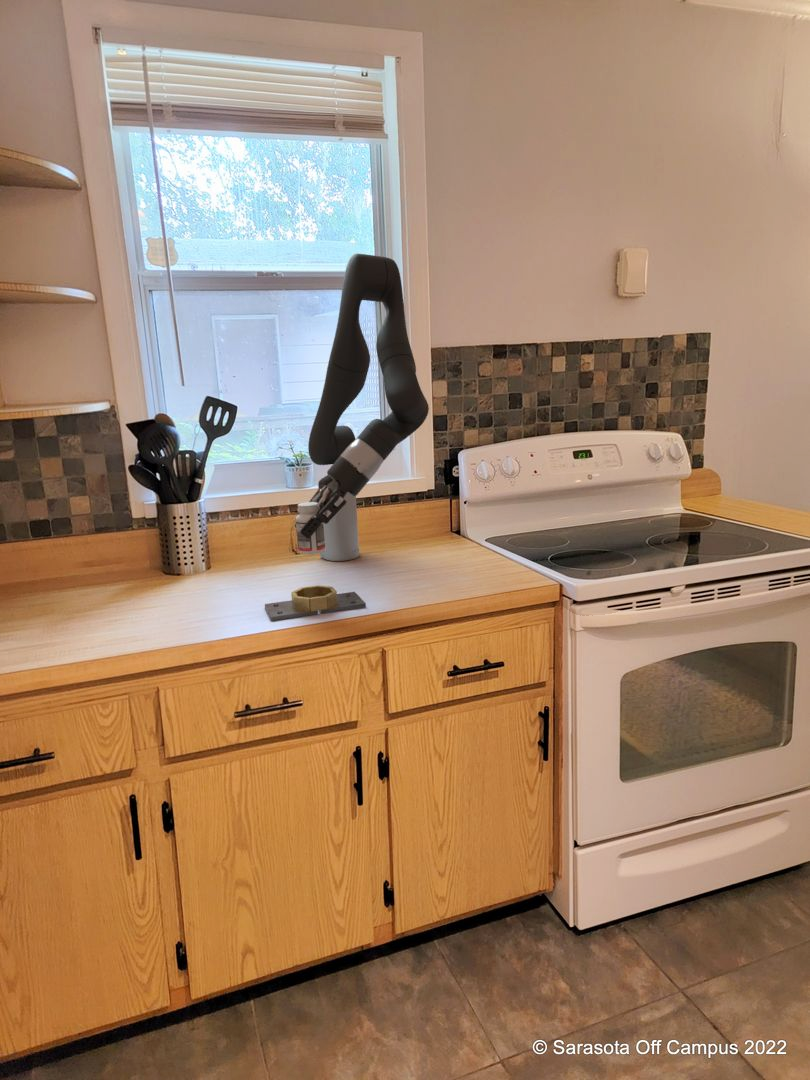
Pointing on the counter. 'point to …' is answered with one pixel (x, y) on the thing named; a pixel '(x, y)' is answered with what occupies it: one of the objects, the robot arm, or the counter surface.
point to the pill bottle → (317, 539)
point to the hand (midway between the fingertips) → (301, 532)
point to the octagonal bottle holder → (313, 603)
